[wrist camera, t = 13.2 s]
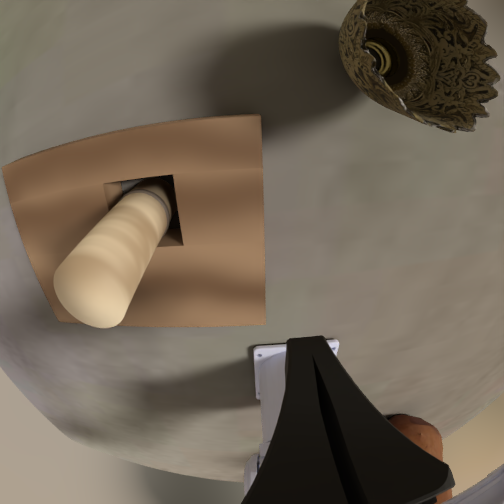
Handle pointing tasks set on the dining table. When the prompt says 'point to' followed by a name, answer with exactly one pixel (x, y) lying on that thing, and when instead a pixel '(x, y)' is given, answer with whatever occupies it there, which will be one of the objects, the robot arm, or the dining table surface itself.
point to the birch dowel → (115, 255)
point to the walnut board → (175, 240)
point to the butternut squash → (422, 440)
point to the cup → (421, 59)
